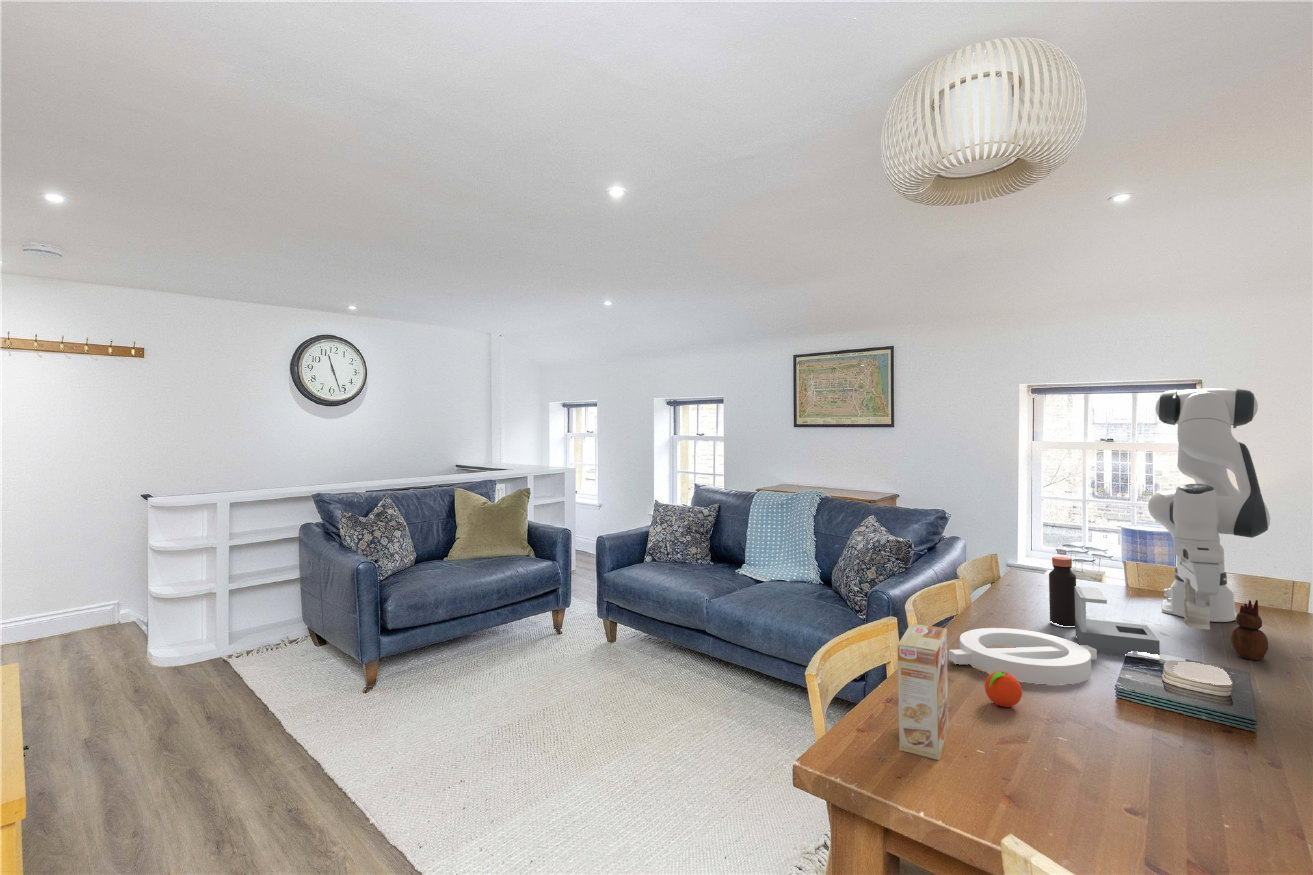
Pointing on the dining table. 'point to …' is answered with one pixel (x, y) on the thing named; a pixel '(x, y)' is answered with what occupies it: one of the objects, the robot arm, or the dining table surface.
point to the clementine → (1003, 689)
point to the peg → (1195, 609)
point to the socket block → (1110, 629)
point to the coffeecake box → (923, 690)
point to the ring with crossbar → (1026, 655)
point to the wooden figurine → (1249, 634)
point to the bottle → (1062, 592)
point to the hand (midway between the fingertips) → (1196, 603)
